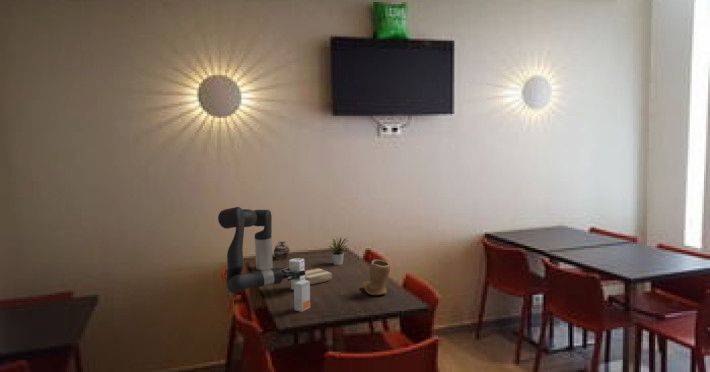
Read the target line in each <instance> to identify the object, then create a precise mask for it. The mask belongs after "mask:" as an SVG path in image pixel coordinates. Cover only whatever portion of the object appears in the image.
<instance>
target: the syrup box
mask: <svg viewBox="0 0 710 372" xmlns="http://www.w3.org/2000/svg"><path fill="white" fill-rule="evenodd" d="M288 263H289V264H288V266H289V267H288V268H289V269H290V271H294V272H298V271H303V270H304V271H306V270H305V258H300V257H298V258H297V257H296V258H295V257H294V258H291V259H289V261H288ZM291 274H292V273H291ZM295 276H296V275H295ZM301 280H305V275H303V276H299V278H298V279H293V280H289V289H290V290H292V291H294V283H296V282H298V281H301Z"/></svg>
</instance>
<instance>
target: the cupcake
mask: <svg viewBox="0 0 710 372" xmlns="http://www.w3.org/2000/svg"><path fill="white" fill-rule="evenodd" d="M273 254H274V258H275V260H278V261H282V260H283V261H285V260H287V259H289V255H290V248H289V245H288V242H287V241H278V243H277V244H276V245H275V247H274V249H273Z"/></svg>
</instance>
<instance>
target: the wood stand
mask: <svg viewBox="0 0 710 372" xmlns="http://www.w3.org/2000/svg"><path fill="white" fill-rule="evenodd" d="M332 279H333V273H332V272H330V271H327V270H324V269H322V268H319V267H316V268H311V269H306V270H305V280H307V281H310V286H312V285H315V284H316V285H317V284H321V283H324V282H328V281H329V280H332Z"/></svg>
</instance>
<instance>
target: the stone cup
mask: <svg viewBox="0 0 710 372" xmlns="http://www.w3.org/2000/svg"><path fill="white" fill-rule="evenodd" d="M390 271H391V265H390V263H389V262H388V261H386V260H382V259H373V260H372V261H370V263H369V271H368V272H369V279H370V280H365V281H363V282H362V287H363V289H364V290H365V292H366V294H369V295H371V296H380V295H385V294H387V292H388V291H387V288H386V282H387V280H388V278H389V275H390Z"/></svg>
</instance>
